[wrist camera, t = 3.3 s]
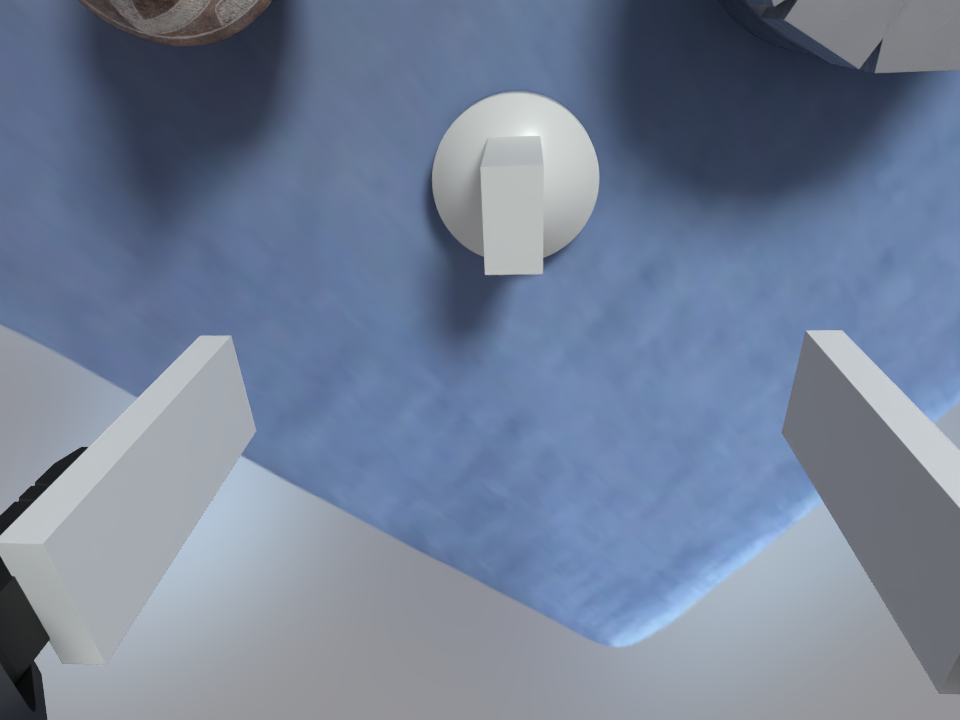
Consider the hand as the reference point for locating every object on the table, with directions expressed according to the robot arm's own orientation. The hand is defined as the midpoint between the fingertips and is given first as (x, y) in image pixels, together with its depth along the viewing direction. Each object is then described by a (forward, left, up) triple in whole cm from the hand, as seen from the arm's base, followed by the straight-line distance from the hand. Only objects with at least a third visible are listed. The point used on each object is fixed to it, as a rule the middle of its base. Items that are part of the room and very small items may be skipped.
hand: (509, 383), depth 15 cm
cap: (0, 0, -19) cm, 19 cm away
